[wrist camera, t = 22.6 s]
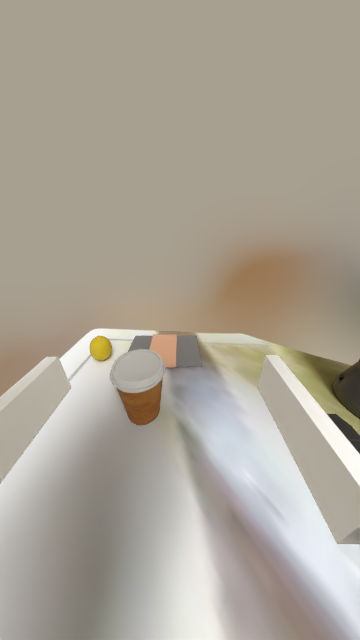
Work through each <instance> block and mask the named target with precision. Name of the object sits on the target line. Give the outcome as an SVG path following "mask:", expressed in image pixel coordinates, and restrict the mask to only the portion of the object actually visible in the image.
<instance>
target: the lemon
mask: <svg viewBox="0 0 360 640" xmlns="http://www.w3.org/2000/svg"><path fill="white" fill-rule="evenodd" d="M90 352H91V354H92V356H93V357H94V358H95V359H97V360H105V359H107V358H108V357H109V356H110V355H111V352H112V346H111V343H110V341H109V340H108V339H107V338H106V337H104V336H97V337H95V338H94V339H93V340H92V341H91V343H90Z"/></svg>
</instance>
